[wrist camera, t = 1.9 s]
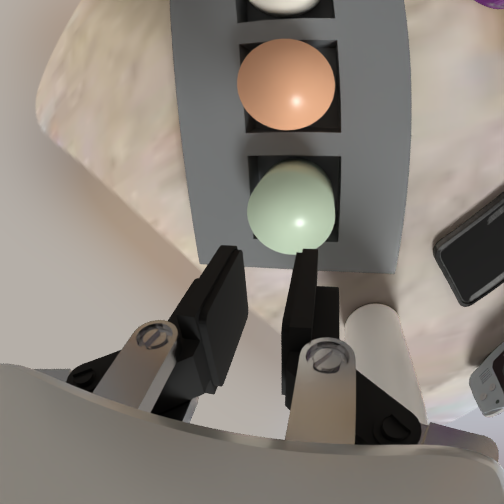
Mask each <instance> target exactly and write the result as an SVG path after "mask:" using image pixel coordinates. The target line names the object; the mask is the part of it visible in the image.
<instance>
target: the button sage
mask: <svg viewBox="0 0 504 504" xmlns="http://www.w3.org/2000/svg"><path fill="white" fill-rule="evenodd" d="M247 216H248V222H249V225H250V227H251V230H252V231H253V233H254V235H255V236H256V237H257V238H258V239H259V241H260V242H261V243H263V244H264V245H265V246H267V247H268V248H270V249H272V250H274V251H276V252H279V253H283V254H290V255H296V252H301V253H302V250H303V249H316V248H318V247H319V246H320V245H322V244H323V243H324V242H325V241H326V239H327V238H328V237H329V235H330V234H331V232H332V229H333V226H334V223H335V206H334V194H333V187H332V184H331V181H330V179H329V177H328V175H327V174H326V173H325V172H324V170H323V169H322V168H320V167H319V166H318V165H316V164H315V163H313V162H311V161H308V160H305V159H300V158H291V159H285V160H282V161H280V162H278V163H276V164H275V165H273V166H272V167H271V168H270V169H269V170H268V171H267V172H266V174H265V175H264V176H263V178H262V179H261V181H260V182H259V183H258V185H257V186H256V188H255V189H254V191H253V192H252V194H251V196H250V198H249V202H248V207H247Z"/></svg>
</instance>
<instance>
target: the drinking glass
mask: <svg viewBox="0 0 504 504" xmlns="http://www.w3.org/2000/svg"><path fill="white" fill-rule="evenodd" d="M345 343H347V344H348V345H349V346H350V347H351V348H352V349H353V351H354V353H355V358H356V370H358V371H359V372H360V373H361V374H363V375H364V376H365V377H367V378H368V379H369V380H370V381H372V382H373V383H374V384H376V385H377V386H378V387H379V388H381V389H382V390H383V391H385V392H386V393H387V394H388V395H390V396H391V397H392V398H394V399H395V400H396V401H398V402H399V403H400V404H402V405H403V406H404V407H405V408H407V409H408V410H409V411H411V412H412V413H413V414H414V415H415V416H416V417H417V418H418V420H419V422H420V423H422V424H425V425H428V418H427V413H426V408H425V404H424V400H423V396H422V392H421V389H420V385H419V382H418V378H417V375H416V372H415V368H414V365H413V362H412V359H411V355H410V352H409V349H408V346H407V343H406V340H405V337H404V334H403V330H402V326H401V322H400V318H399V316H398V314H397V313H396V311H395V310H393V309H392V308H391V307H389V306H387V305H384V304H368V305H364V306H362V307H360V308H358V309H356V310H355V311H354V312H353V313H352V314H351V315H350V316H349V317H348V319H347V321H346V324H345Z"/></svg>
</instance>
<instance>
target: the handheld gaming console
mask: <svg viewBox="0 0 504 504" xmlns="http://www.w3.org/2000/svg"><path fill="white" fill-rule="evenodd" d="M469 385H470V388H471V390H472V393H473V396H474V398H475V400H476V402H477V404H478V406H479V408H480V410H481V411H482V414H483V415H484V416H485V417H487V418H490V417H493V416H496V415H499V414H501V413H502V412H503V411H504V342H503V343H502V344H501V345H499V346H498V347H497V348H496V349H495V350H494V351H493V352H492V353H491V354H490V355H489V356H488V357H487V358H486V360H485V361H484V362H483V363H482V364H481V365H480V366H479V367H478V368H477V369H476V370H475V371H474V372H473V373H472V374H471V377H470V379H469Z"/></svg>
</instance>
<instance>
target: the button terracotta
mask: <svg viewBox="0 0 504 504" xmlns="http://www.w3.org/2000/svg"><path fill="white" fill-rule="evenodd" d="M237 89H238V94H239V98H240V100H241V102H242V104H243V106H244V108H245V109H246V110H247V112H248V113H249V114H250V115H251V116H252V117H253V118H254V119H256V120H257V121H258V122H260V123H262V124H263V125H266V126H268V127H271V128H274V129H279V130H296V129H301V128H304V127H307V126H309V125H311V124H313V123H314V122H316V121H317V120H318V119H320V118H321V117H322V116H323V115H324V114H325V112H326V111H327V110H328V108H329V107H330V104H331V102H332V100H333V97H334V92H335V80H334V75H333V71H332V69H331V66H330V65H329V63H328V61H327V60H326V58H325V57H324V56H323V55H322V54H321V53H320V52H319V51H318V50H317V49H315V48H314V47H312V46H311V45H309V44H307V43H304V42H302V41H298V40H294V39H275V40H271V41H268V42H265V43H263V44H261V45H259V46H257V47H256V48H255V49H253V50H252V51H251V52H250V53H249V54H248V55H247V56H246V58H245V59H244V61H243V62H242V64H241V67H240V69H239V72H238V77H237Z"/></svg>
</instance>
